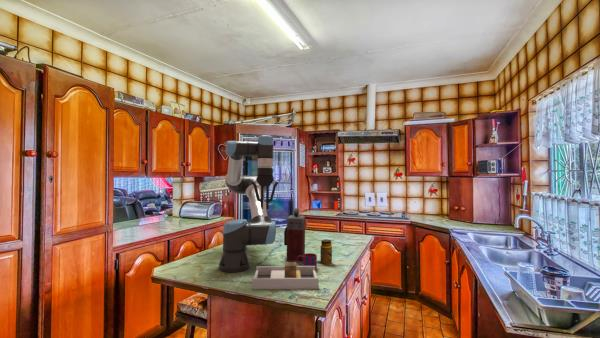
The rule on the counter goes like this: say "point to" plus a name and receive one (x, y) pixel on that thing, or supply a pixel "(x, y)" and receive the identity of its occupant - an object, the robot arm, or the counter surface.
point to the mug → (309, 260)
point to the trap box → (276, 278)
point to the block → (290, 269)
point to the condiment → (326, 253)
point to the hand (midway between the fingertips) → (264, 215)
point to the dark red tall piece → (295, 236)
